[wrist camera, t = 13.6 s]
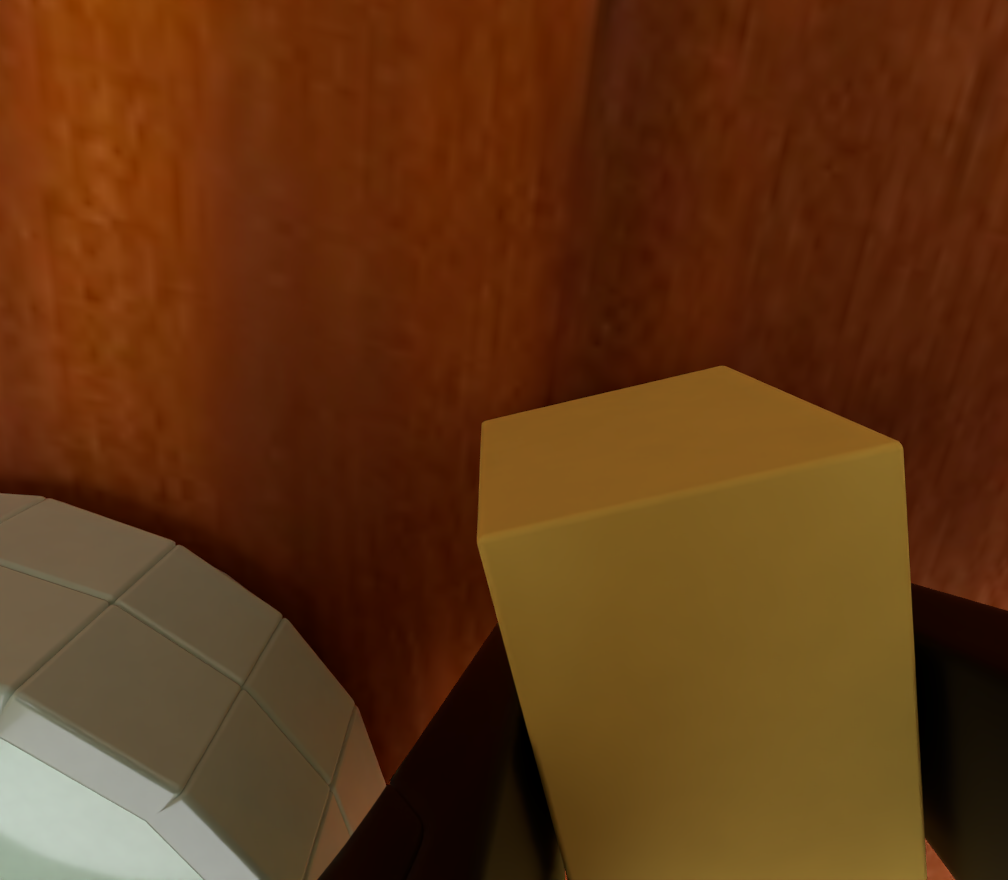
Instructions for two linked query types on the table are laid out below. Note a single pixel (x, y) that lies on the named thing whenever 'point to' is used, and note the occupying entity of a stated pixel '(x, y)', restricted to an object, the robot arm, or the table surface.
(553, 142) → the table surface
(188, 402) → the table surface
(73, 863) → the bowl
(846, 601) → the sponge
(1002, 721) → the robot arm
